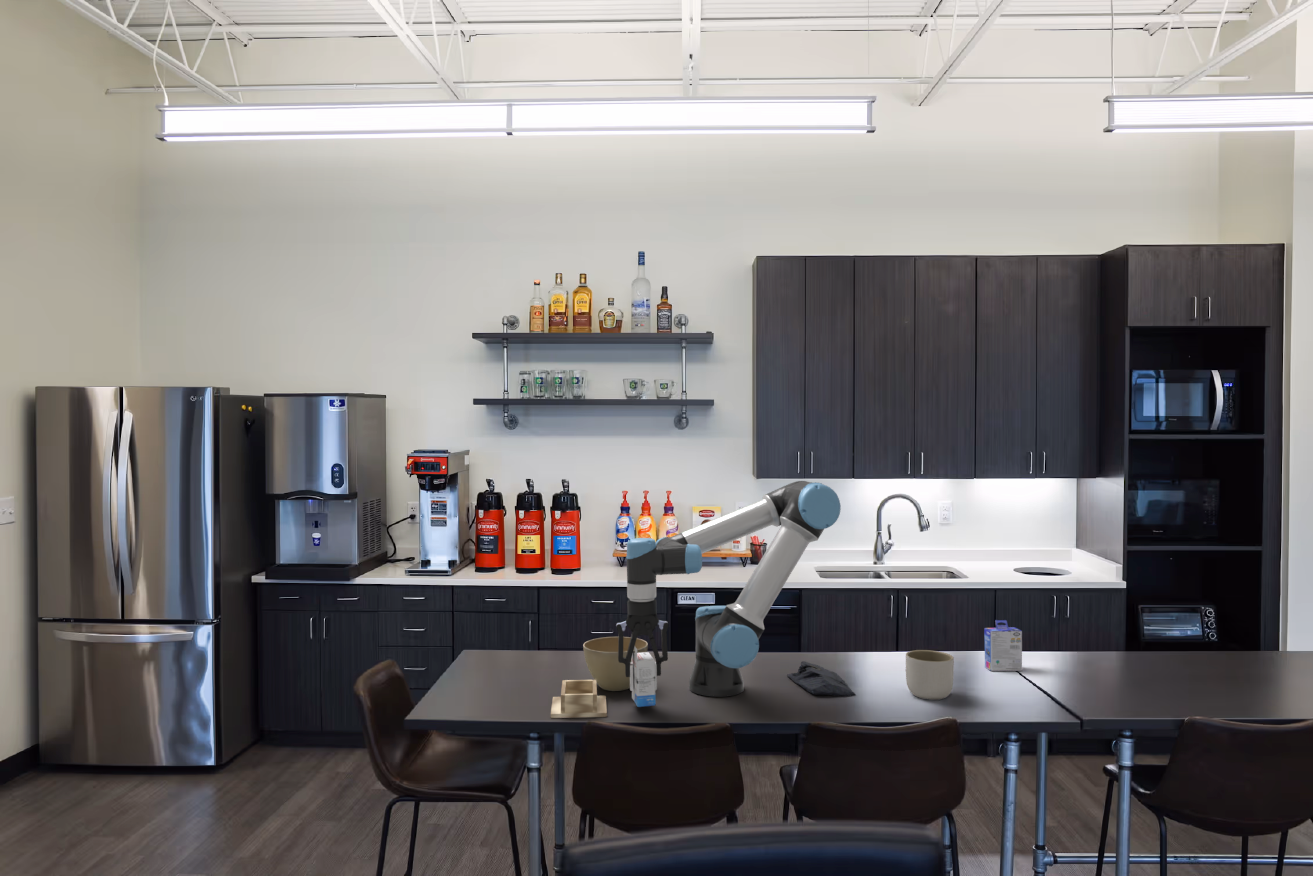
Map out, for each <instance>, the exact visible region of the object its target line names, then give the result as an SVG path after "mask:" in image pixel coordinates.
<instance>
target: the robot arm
mask: <svg viewBox="0 0 1313 876" xmlns="http://www.w3.org/2000/svg"><path fill="white" fill-rule="evenodd" d="M840 501H841V500H840V497H839V496H838V494H837V492H836V491H835V490H834V489H832V487H830V486H828V485H825V484H823V483H822V482H812V481H805V480H797V481H793V482H790V483H788V484H786V485H783V486H782V487H779V488H777V489H774V490H773V491H771V492H768V493H766V494H763V495H762V498H761V500H758V501H755V502H752V503H751V504H748V505H745V506H743V507H741V508H739V509H736V510H733V511H731V512H728V513H726V514H724V515H720V516H719V517H716V518H714V519H712V520H709V521H707V522H703V523H702V524H700V525H697V526H694V527H692V528H690V529H687V530H685V531H682V532H680V533H677V534H675V535H672V536H666V537H665V536H664V537H661V538H659V539H657V540H655V539H654V538H650V537H636V538H635V537H634V538H632V539H629V540H628V541H627V543H626V556H625V559H626V582H627V583H626V593H627V594H626V595H627V596H626V597H627V598H628V600H627V601H626V603H627V604H626V605H627V606H626V607H627V617H626V618H625V621H622V622H617V623H615V624H616V625H615V626H616V629H617V633H618V636H617V637H618V661H619V662H620V663H624V664H625V675H626V677H630V688H629V690H630V691H631V692H632V691H633V663H630V662H631V658H632V654H633V650H634V646H635V643H636V639H637V638H638V637H640V636H646V637H648V639H649V643H650V645H651V648H652V649H651V650H652V653H653V656H654V660H655V691H657V690H658V676H659V677H661V675H662V664H663V663H664V662H666V661H668V660H669V655H668V635H667V631H668V628H669V623H668V621H667V620H660V619H659V617H658V614H657V613H658V612H657V611H658V609H657V606H658V605H657V604H658V603H657V599H656V598H657V576H664V575H665V576H666V575H684V574H685V575H690V574H698V573H700V572H701V570H702V567H703V554H704V553H707V552H709V551H712V550H714V549H717V548H719V547H721V546H724V545H726V544H729V543H732V542H734V541H736V540H738V539H741V538H743V537H746V536H749V535H751V534H753V533H755V532H757V531H760V530H763V529H765V528H768V527H770V526H774V527H779V528H778V531H777V532H776V534H775V535H774V538H773V539H772V541H771V542H770V544H769V546H768V547H767V549H766V550H765V552H764V554H763V555H762V557H761V559H760V560H759V562H758V564H757V566H756V567H755V569H754V571H753V573H752V574H751V575H750V578H749V579H748V581H747V582H746V584H745V586H744V587H743V589H742V590H741V592H740V594H739V595H738V597H737V599H736V600H735V602H733V603H729V604H726V605H710V606H709V605H705V606H699V607H698V608H697V609H696V611H695V617H694V619H695V620H694V621H695V662H694V665H693V668H692V671H691V673H690V678H689V681H688V683H689V686H688V689H689V690H690V691H691V692H692V693H695V694H696V695H700V696H704V697H717V698H718V697H719V698H720V697H721V698H722V697H723V698H725V697H732V696H737V695H740V694H741V693H742V692H744V690H745V683H744V679H743V675H742V672H741V669H742V668H743V667H747V666H748V665H749V664H751V663H752V662H753V661H754V660H755V659H756V657H757V656H758V653H759V648H760V641H759V639H760V638H761V636H762V634H763V633H764V631H765V629H766V628H765V625H764V619H765V618H766V616H767V615H768V613H769V611H770V609H771V607H772V606H773V604H774V602H775V600H776V599H777V597H778V596H779V594H780V592H781V591H782V590H783V588H784V586H785V584H786V583H787V581H788V579H789V577H790V576H791V574H792V572H793V570H794V569H795V567H796V566H797V564H798V562H799V560H800V559H801V557H802V555H803V554H804V553H805V551H806V549H807V547H808V546H809V545H810V543H813V542H815V541H818V540H819V538H820V537H821V535H823V533H824V530H825V529H828V528H830V527H832V526H833V525H835V523H836V522H837V521H838V519H839V517H840V515H841V514H840V513H841V509H842V508H841V502H840ZM626 626H627V627H628V629H630V631H631V634H630V635H631V636H630V637H631V639H630V643H629V647H628V651H627V655H626V658H625V657H623V637H625V636H624V632H625V631H626ZM657 626H659V629H660V636H661V655H660V653H659V650H658V647H657V644H656V640H655V637H654V634H653V633H654V632H653V631H654V630H656V628H657Z"/></svg>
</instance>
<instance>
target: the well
mask: <svg viewBox="0 0 1313 876" xmlns="http://www.w3.org/2000/svg"><path fill="white" fill-rule="evenodd" d="M597 685H598V683H597V682H596V680H595V679H569V680H568V679H565V680H564V679H563V680H561V691H560V696H552V700H551V701H552V703H551V708H550V719H562V718H564V719H565V718H568V719H569V718H571V719H572V718H573V719H574V718H576V719H577V718H607V717H608V711H607V699H606V698H607V696H606V695H598V690H597V687H598V686H597Z"/></svg>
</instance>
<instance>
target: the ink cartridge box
mask: <svg viewBox="0 0 1313 876" xmlns="http://www.w3.org/2000/svg"><path fill="white" fill-rule="evenodd" d="M994 622H995V623H994V624H995V627H984V631H983V632H984V633H983V634H984V635H983V636H984V668H986V669H987V670H989V671H991V672H998V671H999V672H1006V671H1007V672H1008V671H1009V672H1010V671H1011V672H1013V671H1014V672H1018V671H1019V672H1022V671H1023V630H1021V629H1019V628H1017V627H1013V626H1012V627H1011V626H1010V627H1009V625H1008V621H1007V620H1006V619H1004V620H1003V619H1002V620H998V619H995V621H994ZM999 623H1001V624H999Z"/></svg>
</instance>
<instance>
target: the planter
mask: <svg viewBox="0 0 1313 876" xmlns="http://www.w3.org/2000/svg"><path fill="white" fill-rule="evenodd" d="M954 658H955V657H954V656H953V655H951V654H949V653H946V652H943V651H938V650H929V649H916V650H910V651H907V652H906V653H905V681H906V686H907V688H908V690H909V692H910V693H911V694H912V695H913V696H915V697H917V698H918V699H919V698H920V699H925V700H931V701H933V700H934V701H936V700H937V701H938V700H939V701H940V700H944V699H946V698H947V697H949V695H950V694H951V693H952V690H953V685H954V674H955V673H954V672H955V671H954V669H955V667H954V665H955V663H954V662H955V660H954Z"/></svg>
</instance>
